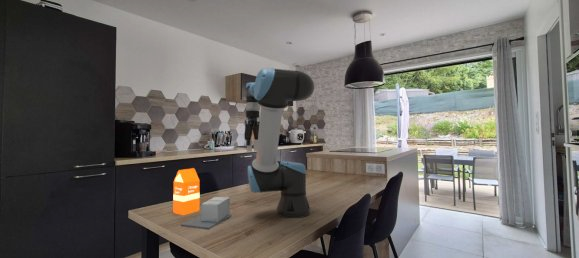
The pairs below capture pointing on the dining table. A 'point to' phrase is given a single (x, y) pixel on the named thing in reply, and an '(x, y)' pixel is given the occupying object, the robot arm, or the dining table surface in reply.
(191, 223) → the mat
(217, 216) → the supplement box
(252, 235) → the dining table surface
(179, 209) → the orange juice
